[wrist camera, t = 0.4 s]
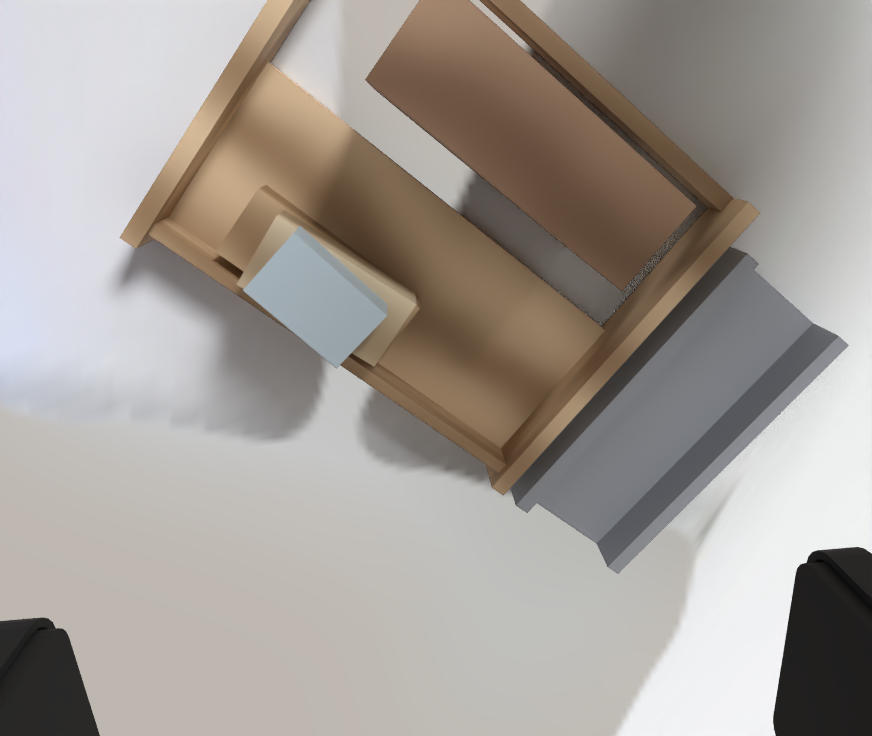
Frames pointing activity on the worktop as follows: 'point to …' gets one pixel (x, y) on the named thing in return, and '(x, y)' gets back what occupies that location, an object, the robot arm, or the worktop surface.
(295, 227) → the offcut
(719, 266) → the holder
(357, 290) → the offcut
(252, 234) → the offcut
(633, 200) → the brown rectangular block
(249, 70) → the tray
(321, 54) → the worktop surface
